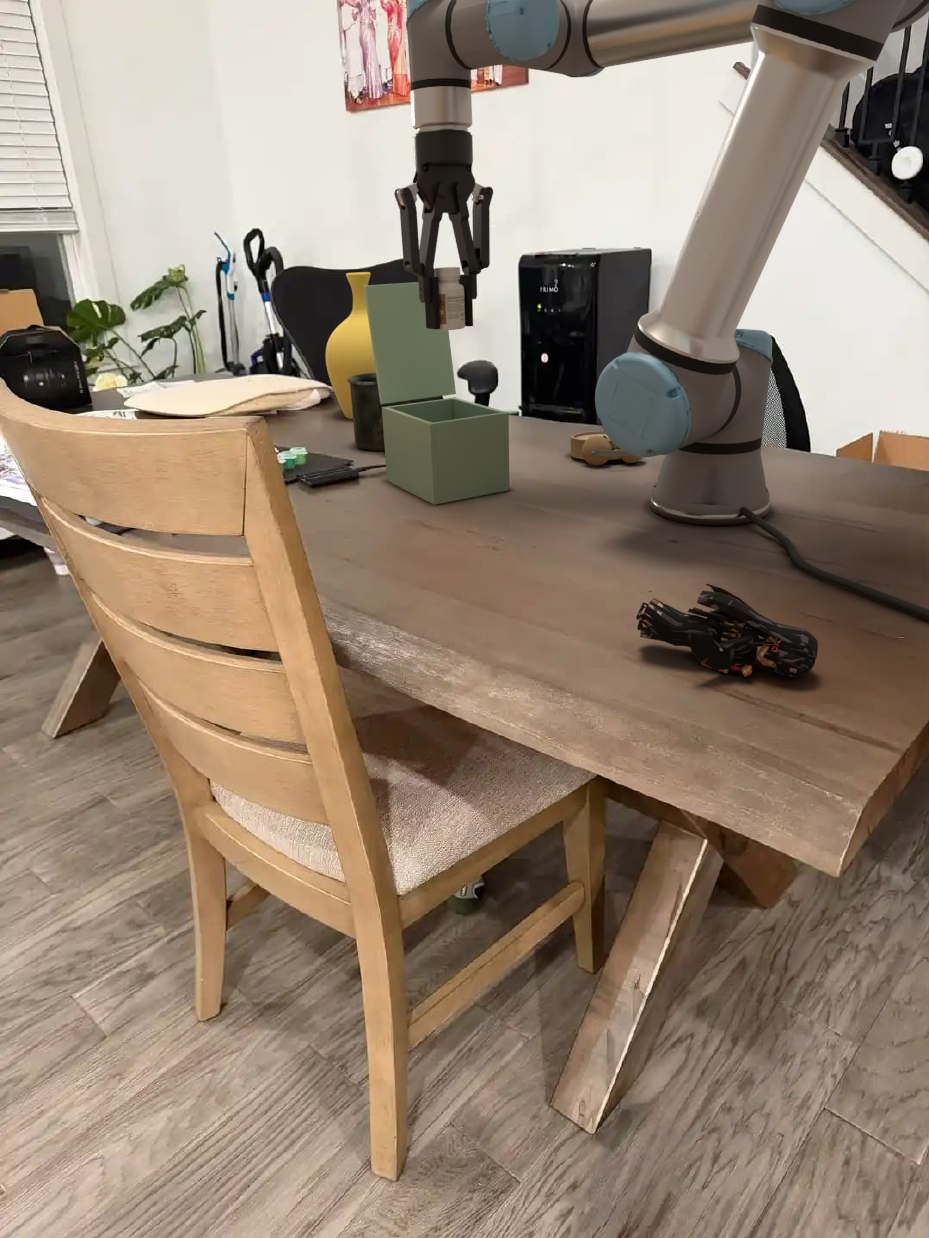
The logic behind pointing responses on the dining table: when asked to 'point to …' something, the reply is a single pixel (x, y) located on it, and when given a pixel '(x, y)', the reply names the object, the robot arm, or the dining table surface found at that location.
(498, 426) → the chest
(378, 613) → the dining table surface
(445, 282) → the pill bottle
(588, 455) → the wooden toy car
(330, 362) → the vase
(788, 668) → the figurine
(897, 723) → the dining table surface
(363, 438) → the mug
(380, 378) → the lid
